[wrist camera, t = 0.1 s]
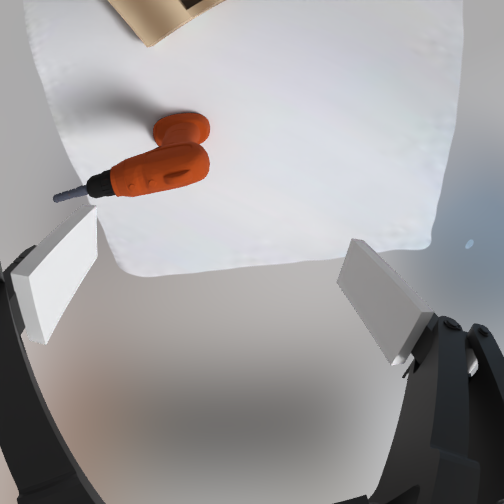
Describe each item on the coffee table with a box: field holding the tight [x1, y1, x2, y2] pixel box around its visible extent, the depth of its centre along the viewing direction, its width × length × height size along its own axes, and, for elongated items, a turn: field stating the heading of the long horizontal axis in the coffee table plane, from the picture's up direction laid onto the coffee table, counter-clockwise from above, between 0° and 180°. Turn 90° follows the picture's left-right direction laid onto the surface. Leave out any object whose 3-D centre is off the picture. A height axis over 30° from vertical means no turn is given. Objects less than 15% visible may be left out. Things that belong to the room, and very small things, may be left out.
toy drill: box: [53, 113, 210, 203], centre depth 31 cm, size 5×19×15 cm, turn 94°
